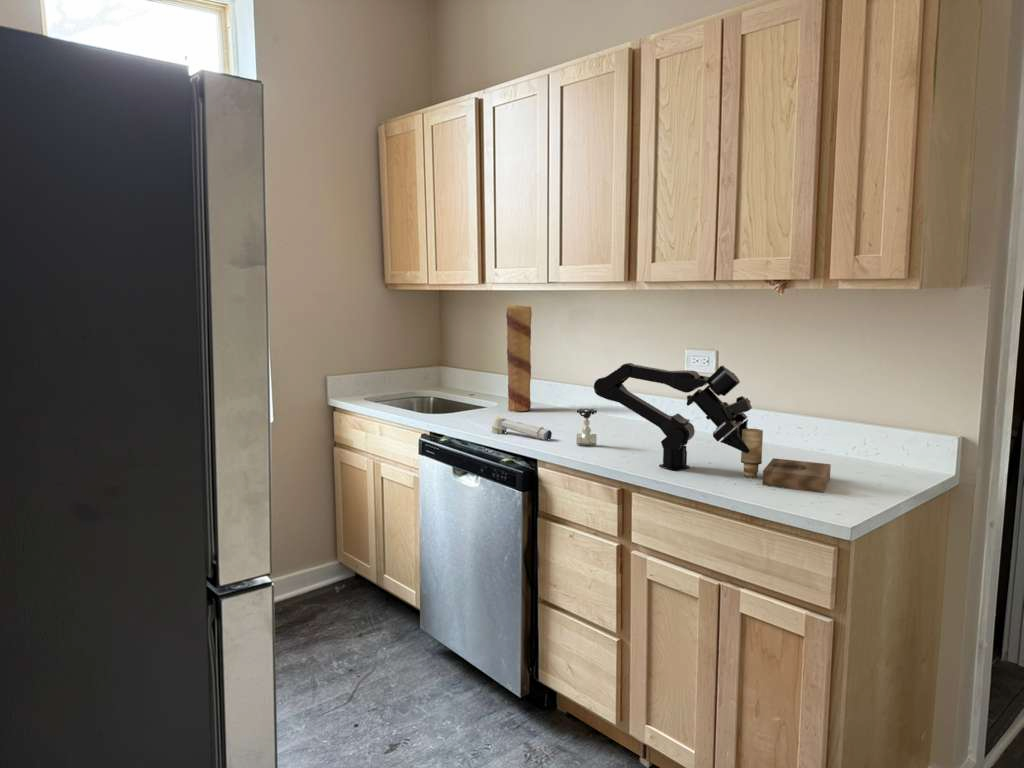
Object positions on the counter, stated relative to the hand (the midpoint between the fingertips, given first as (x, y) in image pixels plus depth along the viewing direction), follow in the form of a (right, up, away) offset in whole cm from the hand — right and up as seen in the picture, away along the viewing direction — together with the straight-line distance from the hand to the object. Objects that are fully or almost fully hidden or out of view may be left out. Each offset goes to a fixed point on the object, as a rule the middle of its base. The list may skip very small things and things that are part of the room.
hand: (751, 449), depth 199 cm
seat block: (+11, -8, -5) cm, 14 cm away
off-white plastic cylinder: (-63, -1, +58) cm, 86 cm away
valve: (-41, -3, +42) cm, 59 cm away
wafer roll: (-63, +6, +113) cm, 130 cm away
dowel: (0, -8, +1) cm, 8 cm away
